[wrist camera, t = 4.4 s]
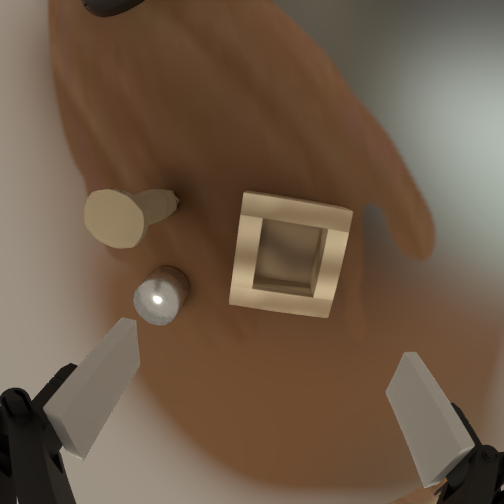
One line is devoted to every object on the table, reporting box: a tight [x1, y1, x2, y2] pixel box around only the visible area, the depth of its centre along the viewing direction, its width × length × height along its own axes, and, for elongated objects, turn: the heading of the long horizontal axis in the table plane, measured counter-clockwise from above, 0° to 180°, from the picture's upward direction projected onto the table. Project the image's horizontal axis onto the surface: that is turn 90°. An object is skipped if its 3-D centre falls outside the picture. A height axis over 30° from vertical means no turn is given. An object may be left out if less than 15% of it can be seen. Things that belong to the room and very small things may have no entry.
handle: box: [84, 189, 179, 248], centre depth 29 cm, size 5×6×15 cm
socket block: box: [229, 190, 353, 318], centre depth 35 cm, size 14×12×5 cm
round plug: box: [134, 266, 189, 325], centre depth 37 cm, size 6×6×6 cm
